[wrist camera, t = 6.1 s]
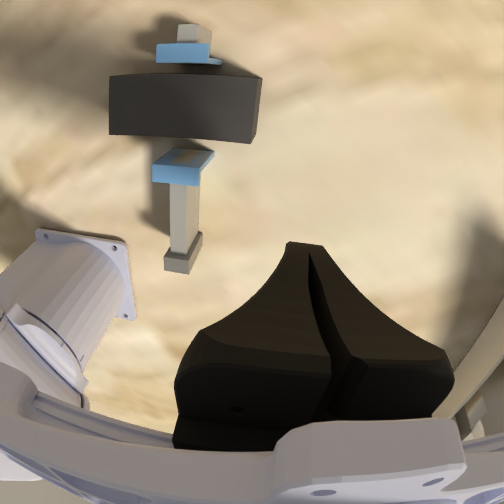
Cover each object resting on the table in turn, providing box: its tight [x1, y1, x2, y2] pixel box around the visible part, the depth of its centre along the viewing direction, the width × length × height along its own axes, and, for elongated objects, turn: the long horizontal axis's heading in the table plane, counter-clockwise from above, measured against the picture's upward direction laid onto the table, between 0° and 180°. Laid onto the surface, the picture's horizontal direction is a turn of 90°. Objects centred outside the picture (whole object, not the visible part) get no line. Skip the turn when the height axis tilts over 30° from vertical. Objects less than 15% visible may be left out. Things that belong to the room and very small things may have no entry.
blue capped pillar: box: [152, 24, 222, 274], centre depth 15 cm, size 3×22×4 cm, turn 174°
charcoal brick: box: [109, 73, 262, 144], centre depth 16 cm, size 8×3×3 cm, turn 84°
